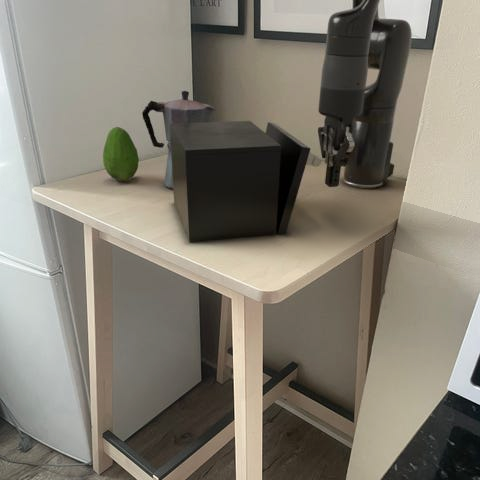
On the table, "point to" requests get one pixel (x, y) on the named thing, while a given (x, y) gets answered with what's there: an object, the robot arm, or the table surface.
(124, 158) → the avocado
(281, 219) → the oven door
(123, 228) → the table surface
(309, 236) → the table surface
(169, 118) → the moka pot
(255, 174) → the oven
